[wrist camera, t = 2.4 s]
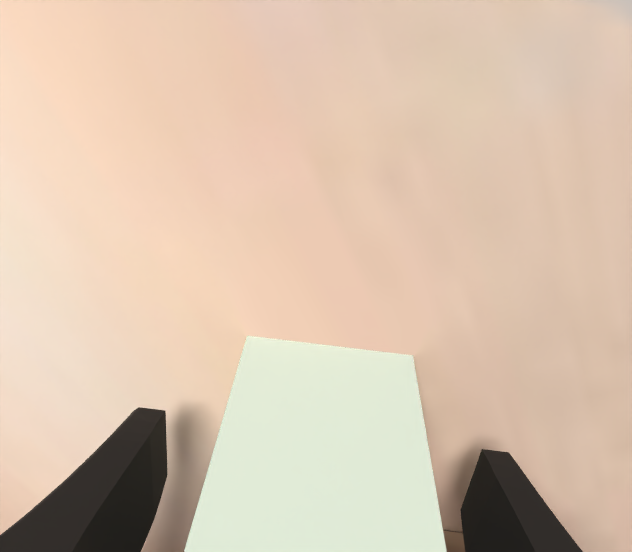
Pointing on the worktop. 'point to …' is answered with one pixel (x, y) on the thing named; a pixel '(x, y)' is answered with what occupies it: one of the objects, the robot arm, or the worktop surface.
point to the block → (319, 456)
